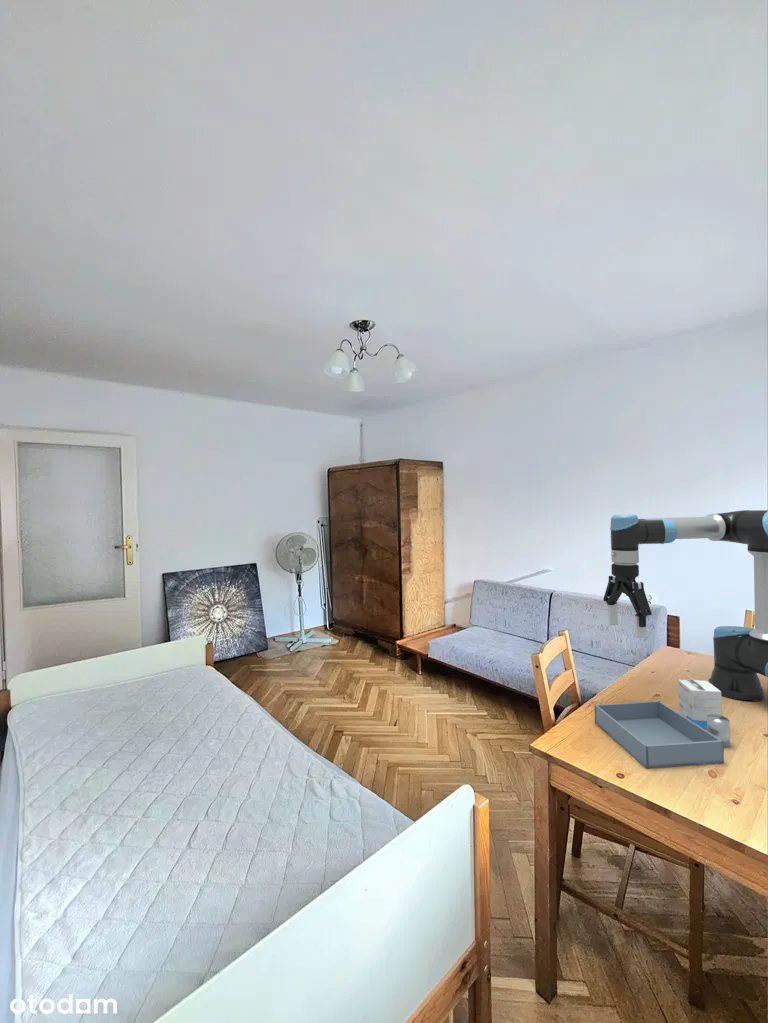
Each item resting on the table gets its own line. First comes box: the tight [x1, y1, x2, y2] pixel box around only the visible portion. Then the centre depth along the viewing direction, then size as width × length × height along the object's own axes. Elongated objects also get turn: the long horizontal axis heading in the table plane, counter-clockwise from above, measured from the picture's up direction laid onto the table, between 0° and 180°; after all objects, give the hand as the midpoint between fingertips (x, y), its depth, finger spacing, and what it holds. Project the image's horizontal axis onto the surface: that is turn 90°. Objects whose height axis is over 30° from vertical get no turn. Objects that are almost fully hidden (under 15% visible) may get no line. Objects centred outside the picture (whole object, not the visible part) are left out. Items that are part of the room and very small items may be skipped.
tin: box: [706, 714, 731, 749], centre depth 119 cm, size 5×5×7 cm
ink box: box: [677, 674, 723, 730], centre depth 130 cm, size 9×8×13 cm
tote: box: [594, 700, 725, 769], centre depth 121 cm, size 21×23×6 cm
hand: (626, 630), depth 133 cm, fingers open, 13 cm apart
